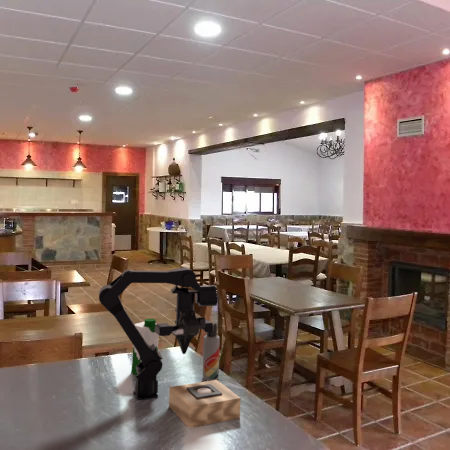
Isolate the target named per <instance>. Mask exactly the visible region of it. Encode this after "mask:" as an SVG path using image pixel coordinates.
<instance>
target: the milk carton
mask: <svg viewBox="0 0 450 450" xmlns="http://www.w3.org/2000/svg"><path fill="white" fill-rule="evenodd" d="M134 324H135V326H136V327H137V329H138V331H139V332H140V334H141V335H142V337H143V338H144V340H145V341H146V343H148V344H149V345H150V346H151V345H152V344H154V345H155V347H156V350H157V351H159V337H160V336H159V335H158V334H157V333H155V326H156V324H157V320H156V319H155V318H145V319H144V321H142V322H137V323H134ZM140 362H141V359H140V356H139V354H138V351H137V350H136V348H135V347H134V345H133V344H132V361H131V371H130V374H132V375H134V376H138V374H137V370H136V366H137V365H138V364H139V363H140Z"/></svg>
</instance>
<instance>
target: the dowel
mask: <svg viewBox="0 0 450 450" xmlns="http://www.w3.org/2000/svg"><path fill="white" fill-rule="evenodd" d="M197 393H199V394H200V395H201V394H207V393H211V390H210V389H208V388H200V389H198V390H197Z"/></svg>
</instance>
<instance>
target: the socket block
mask: <svg viewBox="0 0 450 450" xmlns="http://www.w3.org/2000/svg"><path fill="white" fill-rule="evenodd" d="M168 388H169V389H168V390H169V392H168V393H169V396H168V397H169V399H168V407H169V408H170V409H171V410H172V411H173V413H175V415H176V417H177V416H178V418H179V419H180V420H181V421H182V422H183V423H184V424H185V425H186V426H187V428H188V427H189V428H188V429H191V428H192V427H193V428H197V426H198V427H201V426H202V427H204V426H208V425H213V424H217V423H222V422H228V421H232V420H238V419H240V418H241V397H240V396H239V395H237V394H236V393H235V392H233V390H231V389H229V388H228V387H227V386H226V385H224V384H223V383H221V382H220V381H219V380H218V379H217V380H212V381H207V380H205V381H200V382H193V383H189V384H187V383H186V384H180V385H173V386H169V387H168ZM200 388H208V389H210V390H211V393H207V394H201V395H200V394H199V393H197V390H198V389H200ZM193 428H192V429H193Z"/></svg>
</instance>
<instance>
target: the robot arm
mask: <svg viewBox="0 0 450 450" xmlns="http://www.w3.org/2000/svg"><path fill="white" fill-rule="evenodd" d="M131 284H168V285H169V284H170V285H174V286H173V288H171V289H170V292H171V293H172V294H173V295H174V294H175V295H176V308H175V309H174V311H175V315H176V317H175V320H174V324H175V325H170V324H169V323H168V322H162V323H156V326H155V333H157V334H158V335H159V336H158V337H166V336H170V335H173V336H174V337H175V338H176V340H177V342H178V345H179V349H180V352H181V353H182V355H186V353H187V350H188V349H189V346H190V343H191V342H192V339H193V338H194V337H195V336H198V334H200V330H203V332H205V333H207V332H213V331H214V325H213V323H214V322H211V321H209V320H208V319H206V318H205V317H203V316H202V317H197V316H196V310H195V304H197V305H198V307H216V306H218V300H219V299H218V292H217V285H215V284H209V285H201V284H200V283H199V282H198V281H197V274H196V272H194V270H192V269H190V268H189V267H186V266H184V267H178V268H177V267H176V268H173V269H168V270H144V269H143V270H135V269H125V270H124V271H123V272H122V273H121V274H120V275H119V276H117V277H116V278H114V279H113V280H112V281H111V282H110V283H109V284H106V285H103V286H101V288H100V289H99V291H98V300H99V303H100V304H101V306H103V307H104V308H105V310H107V311H108V312H109V313H110V314H111V315H112V316H113V317H114V318H115V319H116V321H117V322H118V324H119V326H120V327H121V328H122V330H123V332H124V333H125V334H126V336H127V338H128V339H129V341H130V342H131V343H132V346H133V345H134V347H135V348H136V350H137V351H138V354H139V356H140V359H141V362H140V363H139V364H138V365H137V366H136V370H137V374H138V376H137V375H134V391H133V392H132V393H133V395H134V396H135V398H136V399H137V400H138V401H141V400H146V399H147V400H148V399H154V398H158V397H159V395H158V393H159V380H158V377H157V375H158V374H159V373H160V372H161V371H162V369H163V362H162V360H163V357H162V354H161V352H160V351H159V350H158V351H157V350H156V347H155V345H154V344H152V345H151V346H150V345H149V344H148V343H146V341H145V340H144V338H143V337H142V335H141V334H140V332H139V331H138V329H137V327H136V326H135V324H136V323H134V321H133V320H132V318H131V317H130V315H129V314H128V312H127V311H126V310H125V307H124V305H123V303H122V300H121V298H120V295H122V294H123V292H124V291H125V290H126V289H127V288H128V287H129V286H130V285H131ZM189 288H191V289H189Z"/></svg>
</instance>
